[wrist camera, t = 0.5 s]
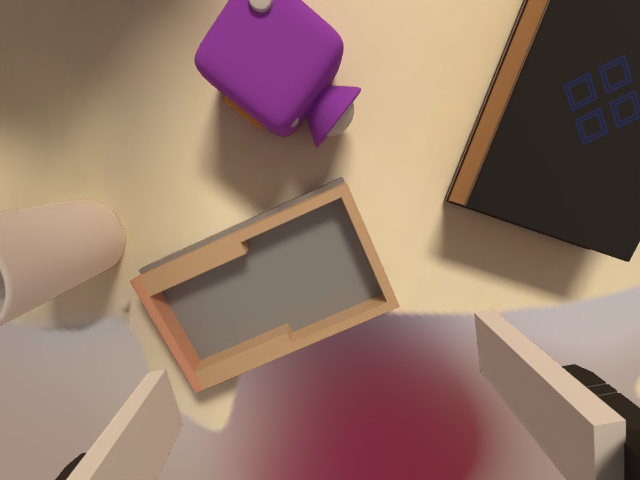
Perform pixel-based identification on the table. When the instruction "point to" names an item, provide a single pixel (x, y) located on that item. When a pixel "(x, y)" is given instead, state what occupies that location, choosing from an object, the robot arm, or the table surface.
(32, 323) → the table surface
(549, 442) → the robot arm
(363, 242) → the board
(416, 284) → the table surface
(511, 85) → the book
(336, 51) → the toy camera
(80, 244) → the cup
